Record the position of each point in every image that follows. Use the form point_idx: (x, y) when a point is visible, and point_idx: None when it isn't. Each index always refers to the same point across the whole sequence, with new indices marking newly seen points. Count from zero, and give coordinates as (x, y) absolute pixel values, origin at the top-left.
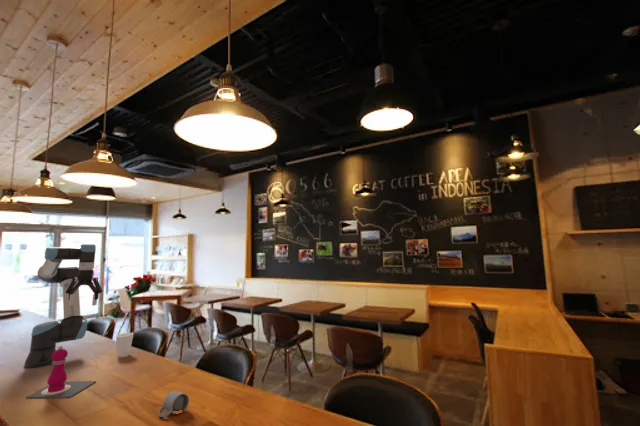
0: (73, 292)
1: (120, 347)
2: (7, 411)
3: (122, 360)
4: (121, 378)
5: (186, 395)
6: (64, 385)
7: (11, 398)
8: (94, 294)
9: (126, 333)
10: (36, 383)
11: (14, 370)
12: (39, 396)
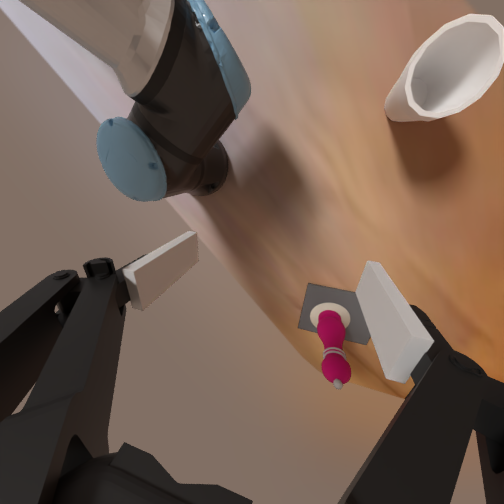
0: (114, 290)
1: (411, 120)
2: (301, 353)
3: (413, 158)
4: (440, 291)
5: None
6: (341, 321)
7: (277, 321)
8: (405, 382)
9: (455, 26)
10: (274, 277)
11: (184, 205)
12: (317, 332)
